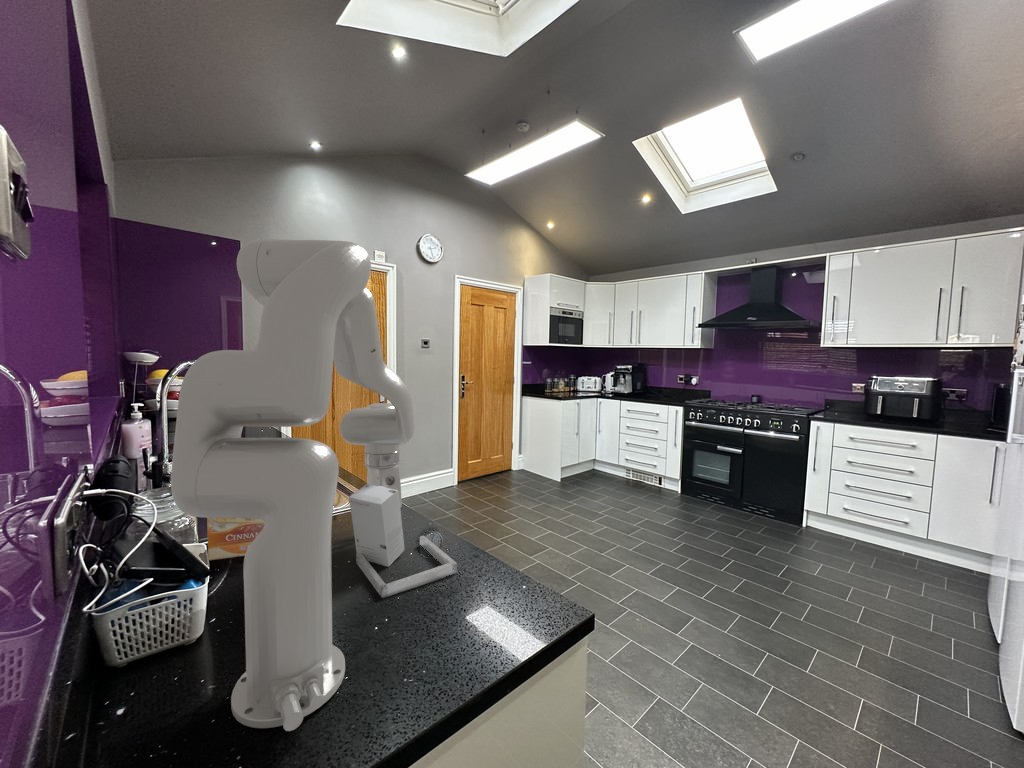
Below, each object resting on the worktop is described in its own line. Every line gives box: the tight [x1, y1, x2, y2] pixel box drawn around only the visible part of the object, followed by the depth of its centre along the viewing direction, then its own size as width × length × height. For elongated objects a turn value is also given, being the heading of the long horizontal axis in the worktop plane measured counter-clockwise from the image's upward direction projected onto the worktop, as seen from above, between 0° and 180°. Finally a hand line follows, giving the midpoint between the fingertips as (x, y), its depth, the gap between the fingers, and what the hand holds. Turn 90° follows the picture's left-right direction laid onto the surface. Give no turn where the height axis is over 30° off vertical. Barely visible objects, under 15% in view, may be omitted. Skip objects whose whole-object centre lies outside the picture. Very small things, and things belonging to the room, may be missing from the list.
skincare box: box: [348, 483, 406, 568], centre depth 83 cm, size 8×6×15 cm
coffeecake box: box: [206, 518, 265, 561], centre depth 86 cm, size 15×7×20 cm, turn 114°
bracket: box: [355, 535, 458, 599], centre depth 81 cm, size 15×15×2 cm
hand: (382, 530), depth 92 cm, fingers open, 9 cm apart
